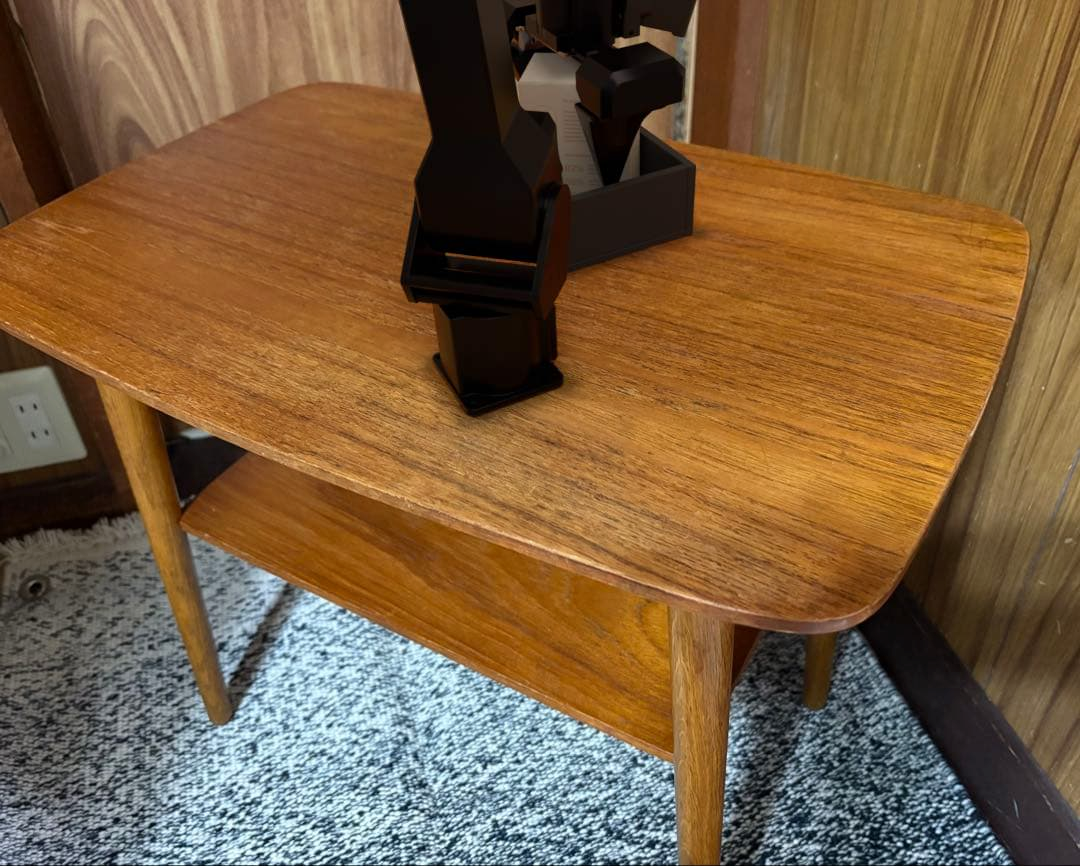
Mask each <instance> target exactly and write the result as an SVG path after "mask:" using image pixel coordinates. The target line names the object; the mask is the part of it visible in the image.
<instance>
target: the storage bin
mask: <svg viewBox="0 0 1080 866" xmlns="http://www.w3.org/2000/svg"><path fill="white" fill-rule="evenodd" d="M696 178H697V164H696V163H694V162H693V161H691V160H690V159H688V158H687V157H686V156H685V155H683V154H682V153H680V152H679V151H678V150H676V149H674V148H673V147H672V146H671V145H669V144H668V143H667V142H665V141H664V140H662V139H660V138H659V137H658V136H656V135H655V134H654V133H652V132H651V131H650V130H648V129H647V128H646V127H644V126H643V125H641V126H640V176H639V177H635V178H632V179H628V180H625V181H621V182H617V183H614V184H610V185H607V186H603V187H600V188H596V189H593V190H589V191H586V192H582V193H579V194H575V195H572V196H571V222H570V238H569V253H568V269H567V274H569V273H572V272H575V271H578V270H581V269H585V268H587V267H591V266H594V265H597V264H601V263H603V262H607V261H611V260H613V259H617V258H620V257H623V256H626V255H629V254H633V253H637V252H639V251H643V250H646V249H649V248H652V247H655V246H658V245H662V244H665V243H669V242H672V241H675V240H678V239H682V238H686V237H688V236H691V235H693V233H694V216H695V215H694V213H695V197H696V181H697V180H696Z"/></svg>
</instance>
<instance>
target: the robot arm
mask: <svg viewBox="0 0 1080 866" xmlns="http://www.w3.org/2000/svg"><path fill="white" fill-rule="evenodd" d="M397 1H398V5H399V6H398V7H399V9H400V13H401V17H402V20H403V21H402V22H403V25H404V29H405V34H406V38H407V42H408V45H409V49H410V54H411V58H412V62H413V65H414V70H415V73H416V77H417V81H418V86H419V90H420V93H421V98H422V103H423V106H424V110H425V114H426V117H427V122H428V127H429V132H430V137H431V139H430V142H429V144H428V146H427V148H426V151H425V153H424V155H423V158H422V160H421V162H420V164H419V167H418V169H417V171H416V174H415V176H414V179H413V189H414V193H415V195H414V199H413V205H412V212H411V218H410V224H409V229H408V236H407V240H406V245H405V250H404V255H403V261H402V266H401V270H400V271H401V272H400V277H399V283H400V285H401V288H402V291H403V293H404V295H405V297H406V300H407V302H408V303H411V304H419V303H422V304H430V305H432V311H433V318H434V325H435V332H436V339H437V345H438V352H436V353H434V354H432V356H431V357H432V358H431V359H432V360H431V361H432V365H433V366H434V367H435V369H436V371H437V372H438V374H439V375H440V376H441V378H442V380H443V381H444V382H445V384H446V385H447V387H448V388H449V390H450V391H451V392H452V394H453V396H454V397H455V399H456V400H457V401H458V403H459V404H460V406H461V408H462V409H463V410H464V412H465V413H466V414H467V415H469V416H479V415H481V414H484V413H487V412H490V411H493V410H495V409H498V408H501V407H505V406H507V405H510V404H513V403H516V402H519V401H521V400H524V399H525V400H526V399H527V398H530V397H534V396H536V395H539V394H542V393H545V392H548V391H550V390H553V389H556V388H560V387H561V386H563V385H564V383H565V378H564V374H563V373H562V371H560V369H559V368H558V367H557V366H556V365H555V363H554V361H557V360H558V357H559V345H558V343H559V342H558V325H557V308H556V307H557V306H556V305H555V302H556V301H557V298H558V297H559V295H560V293H561V291H562V289H563V287H564V286H565V283H566V281H567V279H568V273H567V269H568V253H569V238H570V222H571V193H570V189H569V186H568V185H567V184H563V179H562V174H561V173H562V172H563V166H562V164H561V161H560V157H559V152H558V140H557V126H556V124H555V122H554V120H553V119H552V117H551V115H550V114H549V112H543V111H530V110H524V109H523V108H522V107H521V105H520V103H519V92H518V86H517V83H518V82H519V80H520V78H521V77H522V75H523V73H524V71H525V69H526V68H527V66H528V64H529V62H530V60H531V58H532V57H533V55H534V53H557V54H559V55H560V56H562V57H565V58H566V57H571V58H573V59H574V60H576V61H577V62H579V63H580V64H581V65H580V67H579V68H578V70H577V71H576V72H575V77H576V91H577V93H578V96H579V99H580V101H581V102H578V103H575V104H574V107H575V110H576V113H577V115H578V118H579V121H580V124H581V127H582V130H583V133H584V135H585V138H586V141H587V144H588V147H589V150H590V153H591V156H592V159H593V162H594V165H595V167H596V170H597V173H598V175H599V178H600V180H601V183H602V185H603V186H607V185H610V184H614V183H617V182H619V181H620V178H621V175H622V172H623V169H624V167H625V164H626V161H627V158H628V156H629V153H630V150H631V147H632V145H633V142H634V139H635V137H636V135H637V132H638V130H639V128H640V126H642V123H643V122H644V121H645V119H646V118H647V117H648V116H649V115H650V114H651V113H652V112H655V111H658V110H662V109H665V108H667V106H671V105H674V104H678V103H683V101H684V99H685V97H686V80H687V79H686V78H687V76H686V75H687V68H686V67H685V66H684V65H683V64H681V62H680V61H679V60H678V59H677V58H676V57H675V56H673V55H671V54H670V53H668V52H666V51H665V50H663V49H661V48H660V47H657V46H656V45H654V44H652V43H650V41H642V42H639V43H634V44H631V45H625V46H622V47H621V46H620V47H617V46H615V44H616V39H620V38H622V39H624V40H627V39H632V38H636V37H640V36H641V27H644V28H648V29H652V30H653V29H654V30H658V31H663V32H667V33H671V35H672V36H673V37H678V38H685V37H686V34H687V31H688V28H689V26H690V22H691V20H692V17H693V13H694V10H695V7H696V4H697V2H698V0H397ZM449 254H451V255H449ZM455 255H456V256H455ZM457 255H460V256H457ZM463 256H467V257H463ZM472 257H476V258H472ZM480 258H484V259H480ZM488 259H493V260H488ZM496 260H497V261H496ZM498 260H502V261H498ZM505 261H509V262H505ZM510 261H511V262H510ZM513 262H514V263H513ZM515 262H518V263H515ZM521 263H522V264H521ZM524 263H526V264H524ZM527 263H528V264H527ZM532 264H535V265H532Z"/></svg>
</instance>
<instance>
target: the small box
mask: <svg viewBox="0 0 1080 866" xmlns="http://www.w3.org/2000/svg"><path fill="white" fill-rule="evenodd" d="M580 65H581V64H580V63H579V62H577V61H576V60H574V59H573V58H571V57H566V58H565V57H562V56H560V55H559V54H557V53H534V55H533V57H532V58H531V60H530V62H529V64H528V66H527V68H526V69H525V71H524V73H523V75H522V77H521V78H520V80H519V82H517V93H518V99H519V103H520V105H521V107H522V108H523V109H524V110H530V111H543V112H549V114H550V115H551V117H552V119H553V120H554V122H555V124H556V126H557V140H558V152H559V157H560V161H561V164H562V166H563V172H562V173H561V174H562V179H563V184H567V185H568V186H569V189H570V193H571V196H572V195H575V194H579V193H582V192H586V191H589V190H593V189H596V188H600V187H603V185H602V183H601V180H600V178H599V175H598V173H597V170H596V167H595V165H594V162H593V159H592V156H591V153H590V150H589V147H588V144H587V141H586V138H585V135H584V133H583V130H582V127H581V124H580V121H579V118H578V115H577V113H576V110H575V107H574V104H575V103H578V102H581V101H580V99H579V96H578V93H577V91H576V77H575V72H576V71H577V70H578V68H579V67H580ZM639 176H640V128H639V130H638V132H637V135H636V137H635V139H634V142H633V145H632V147H631V150H630V153H629V156H628V158H627V161H626V164H625V167H624V169H623V172H622V175H621V178H620V181H619V182H621V181H625V180H628V179H632V178H635V177H639Z"/></svg>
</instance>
